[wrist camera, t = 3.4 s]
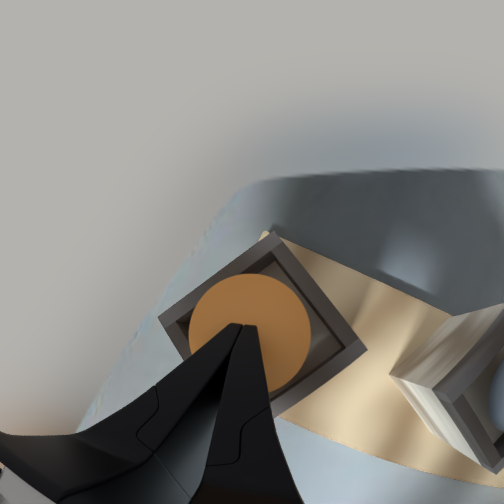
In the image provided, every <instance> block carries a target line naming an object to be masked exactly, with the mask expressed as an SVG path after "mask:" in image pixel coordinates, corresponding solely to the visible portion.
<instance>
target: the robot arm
mask: <svg viewBox="0 0 504 504" xmlns="http://www.w3.org/2000/svg"><path fill="white" fill-rule="evenodd" d="M0 462H1V463H3V465H5V467H4V468H3V470H2V469H1V468H0V504H305V503H304V502H303V500H302V498H301V496H300V494H299V492H298V490H297V487H296V485H295V482H294V480H293V477H292V475H291V472H290V469H289V467H288V464H287V461H286V459H285V456H284V453H283V451H282V448H281V445H280V442H279V439H278V436H277V433H276V428H275V424H274V419H273V414H272V408H271V403H270V398H269V392H268V386H267V380H266V375H265V369H264V363H263V357H262V352H261V346H260V340H259V334H258V328H257V326H256V325H249V324H245V325H243V324H240V323H229V324H228V325H227V326H226V327H224V328H223V329H222V330H221V331H220V332H218V333H217V334H216V335H215V336H214V337H213V338H211V339H210V340H209V341H208V342H207V343H205V344H204V345H203V346H202V347H201V348H199V349H198V350H197V351H196V352H194V353H193V354H192V355H191V356H190V357H188V358H187V359H186V360H185V361H184V362H182V363H181V364H180V365H179V366H177V367H176V368H175V369H174V370H172V371H171V372H170V373H169V374H168V375H166V376H165V377H164V378H163V379H161V380H160V381H159V382H158V383H156V385H155V386H152V387H151V388H150V389H149V390H147V391H146V392H145V393H143V394H142V395H141V396H139V397H138V398H137V399H135V400H134V401H133V402H131V403H130V404H128V405H126V406H125V407H123V408H122V409H120V410H119V411H117V412H115V413H114V414H112V415H110V416H109V417H107V418H105V419H104V420H102V421H100V422H99V423H97V424H95V425H93V426H92V427H90V428H88V429H86V430H84V431H81V432H79V433H75V434H70V435H50V436H49V435H48V436H20V435H19V436H18V435H10V434H6V433H3V432H1V431H0Z"/></svg>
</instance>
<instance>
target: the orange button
mask: <svg viewBox="0 0 504 504" xmlns="http://www.w3.org/2000/svg"><path fill="white" fill-rule="evenodd" d="M229 323H240V324H243V325H245V324H249V325H256V326H257V328H258V334H259V340H260V346H261V352H262V357H263V363H264V369H265V375H266V380H267V386H268V392H271V391H274V390H276V389H278V388H280V387H282V386H283V385H285V384H286V383H287V382H289V381H290V380H291V379H292V378H293V377H294V376H295V375H296V374H297V372H298V371H299V370H300V368H301V367H302V365H303V363H304V361H305V359H306V357H307V354H308V351H309V347H310V339H311V329H310V322H309V318H308V315H307V312H306V310H305V308H304V306H303V304H302V302H301V301H300V299H299V298H298V297H297V295H296V294H295V293H294V292H293V291H292V290H291V289H290V288H289V287H287V286H286V285H285V284H283V283H282V282H280V281H278V280H276V279H274V278H271V277H268V276H265V275H260V274H240V275H235V276H232V277H229V278H226V279H224V280H222V281H220V282H218V283H217V284H215V285H214V286H213V287H211V288H210V289H209V290H208V291H207V292H206V293H205V294H204V295H203V296H202V298H201V299H200V300H199V302H198V303H197V305H196V307H195V309H194V311H193V314H192V317H191V321H190V325H189V344H190V349H191V353H192V354H193V353H194V352H196V351H197V350H198V349H199V348H201V347H202V346H203V345H204V344H205V343H207V342H208V341H209V340H210V339H211V338H213V337H214V336H215V335H216V334H217V333H218V332H220V331H221V330H222V329H223V328H224V327H226V326H227V325H228V324H229Z"/></svg>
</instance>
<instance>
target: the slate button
mask: <svg viewBox="0 0 504 504" xmlns="http://www.w3.org/2000/svg"><path fill="white" fill-rule="evenodd" d="M488 412H489V416H490V420H491V422H492V424H493V425H494V426H495V427H496V428H497V429H498V430H500V431H502V432H504V359H503V360H502V362H501V363H500V365H499V366H498V368H497V370H496V372H495V374H494V377H493V379H492V382H491V385H490V390H489V395H488Z"/></svg>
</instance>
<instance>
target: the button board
mask: <svg viewBox="0 0 504 504" xmlns="http://www.w3.org/2000/svg"><path fill="white" fill-rule="evenodd" d="M240 274H260V275H265V276H268V277H271V278H274V279H276V280H278V281H280V282H282V283H283V284H285V285H286V286H287V287H289V288H290V289H291V290H292V291H293V292H294V293H295V294H296V295H297V297H298V298H299V299H300V301H301V302H302V304H303V306H304V308H305V310H306V312H307V315H308V318H309V322H310V329H311V339H310V347H309V351H308V354H307V357H306V359H305V361H304V363H303V365H302V367H301V368H300V370H299V371H298V372H297V374H296V375H295V376H294V377H293V378H292V379H291V380H290V381H289V382H287V383H286V384H285V385H283V386H282V387H280V388H278V389H276V390H274V391H271V392H269V398H270V403H271V408H272V414H273V419H274V418H275V417H277V416H279V417H281V418H283V419H285V420H287V421H289V422H291V423H294V424H296V425H298V426H300V427H302V428H305V429H307V430H309V431H311V432H314V433H316V434H318V435H321V436H323V437H325V438H328V439H330V440H333V441H335V442H338V443H340V444H343V445H345V446H348V447H350V448H353V449H356V450H358V451H361V452H364V453H367V454H369V455H372V456H375V457H378V458H381V459H384V460H387V461H390V462H393V463H396V464H399V465H403V466H406V467H409V468H413V469H416V470H420V471H423V472H427V473H431V474H435V475H439V476H443V477H447V478H451V479H455V480H460V481H465V482H470V483H475V484H480V485H486V486H492V487H499V488H504V432H502V431H500V430H498V429H497V428H496V427H495V426H494V425H493V424H492V422H491V420H490V416H489V412H488V395H489V390H490V385H491V382H492V379H493V377H494V374H495V372H496V370H497V368H498V366H499V365H500V363H501V362H502V360H503V359H504V303H501V304H498V305H494V306H491V307H487V308H484V309H480V310H477V311H473V312H469V313H465V314H461V315H457V316H452V315H450V314H448V313H446V312H444V311H442V310H440V309H438V308H435V307H433V306H431V305H429V304H427V303H425V302H423V301H421V300H418V299H416V298H414V297H412V296H410V295H408V294H406V293H403V292H401V291H399V290H397V289H395V288H393V287H390V286H388V285H386V284H384V283H382V282H380V281H377V280H375V279H373V278H371V277H369V276H366V275H364V274H362V273H360V272H358V271H355V270H353V269H351V268H349V267H346V266H344V265H342V264H340V263H337V262H335V261H333V260H331V259H329V258H326V257H324V256H322V255H319V254H317V253H315V252H313V251H310V250H308V249H306V248H304V247H301V246H299V245H297V244H294V243H292V242H290V241H287V240H285V239H283V238H281V237H279V236H278V235H277V234H276V232H275V231H272V232H271V233H269V232H267V231H264V232H263V234H262V236H261V238H260V239H259V241H258V242H257V243H256V244H255V245H253V246H252V247H251V248H249V249H248V250H247V251H245V252H244V253H243V254H241V255H240V256H239V257H237V258H236V259H235V260H233V261H232V262H231V263H229V264H228V265H226V266H225V267H224V268H222V269H221V270H220V271H218V272H217V273H216V274H214V275H213V276H212V277H210V278H209V279H208V280H206V281H205V282H204V283H202V284H201V285H200V286H198V287H197V288H196V289H194V290H193V291H192V292H190V293H189V294H188V295H186V296H185V297H184V298H182V299H181V300H180V301H178V302H177V303H176V304H174V305H173V306H172V307H170V308H169V309H168V310H166V311H165V312H164V313H162V314H161V315H160V316H158V319H159V321H160V322H161V324H162V326H163V327H164V329H165V331H166V333H167V334H168V336H169V338H170V339H171V341H172V342H173V344H174V346H175V347H176V349H177V351H178V352H179V354H180V355H181V357H182V359H183V360H184V361H185V360H186V359H187V358H188V357H190V356H191V355H192V353H191V349H190V344H189V325H190V321H191V317H192V314H193V311H194V309H195V307H196V305H197V303H198V302H199V300H200V299H201V298H202V296H203V295H204V294H205V293H206V292H207V291H208V290H209V289H210V288H211V287H213V286H214V285H215V284H217V283H218V282H220V281H222V280H224V279H226V278H229V277H232V276H235V275H240Z"/></svg>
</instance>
